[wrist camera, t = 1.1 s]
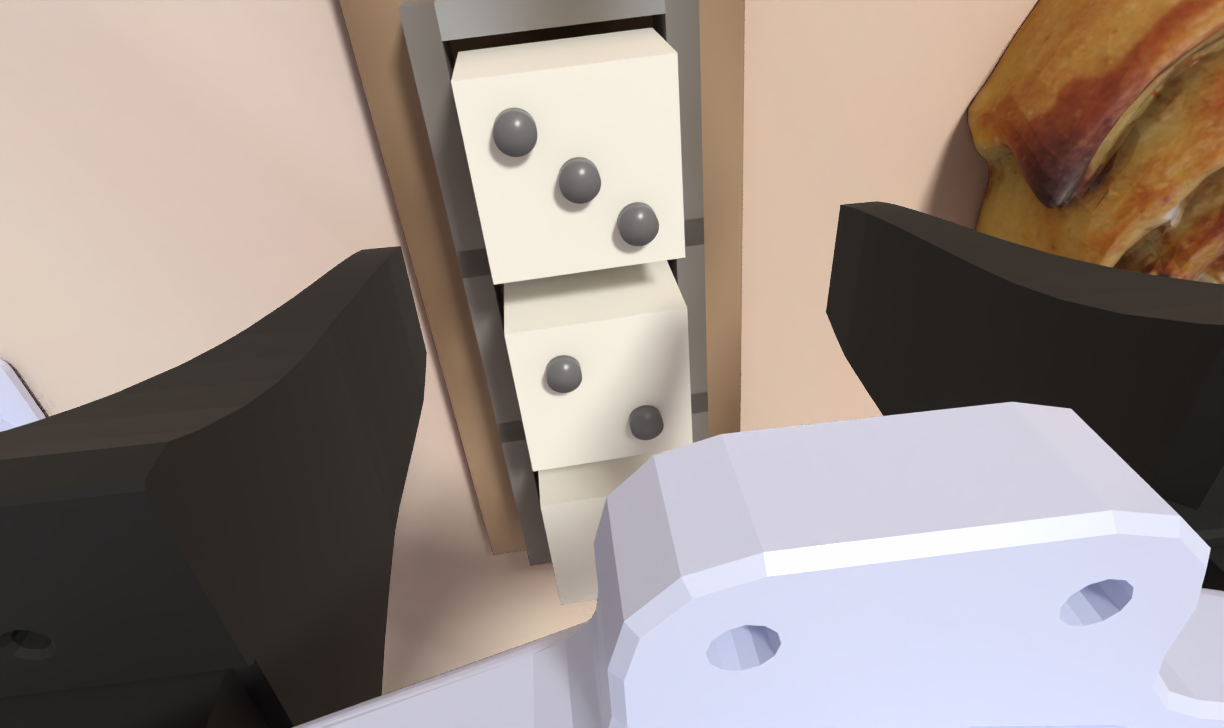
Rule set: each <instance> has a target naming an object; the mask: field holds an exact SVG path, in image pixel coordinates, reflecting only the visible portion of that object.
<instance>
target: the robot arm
mask: <svg viewBox="0 0 1224 728" xmlns="http://www.w3.org/2000/svg"><path fill="white" fill-rule="evenodd" d="M826 313H827V315H828V318H829V320H830V323H831V325H832V328H833V330H834V333H835V335H836V337H837V340H838V342H839V344H840V346H841V348H842V351H843V353H844V355H845V357H846V359H847V360H848V362H849V363H850V365H851V367H852V368H853V370H854V371H855V373H856V374H857V376H858V378H859V379H860V381H861V382H862V384H863V385H864V387H865V389H866V390H867V392H868V393H869V395H870V396H871V398H872V399H873V401H874V402H875V404H876V405H877V407H878V408H879V410H880V411H881V413H882V414H883V416H879V417H871V418H862V419H853V420H844V421H835V422H826V423H817V424H808V425H799V426H790V427H781V428H772V429H763V430H754V431H745V432H736V433H727V434H720V435H717V436H714V437H711V438H707V439H704V440H701V441H698V442H695V443H692V444H688V445H685V446H682V447H679V448H676V449H673V450H669V451H666V452H663V453H660V454H657V455H654V456H652V457H651V458H650V459H649V460H648V461H647V462H646V463H645V464H643V465H642V466H641V467H640V468H639V469H638V470H637V471H635V472H634V473H633V474H632V475H631V476H630V477H629V478H628V479H626V480H625V481H624V482H623V483H622V484H621V485H620V486H619V487H617V488H616V489H615V490H614V491H613V492H612V493H611V494H609V495H608V496H607V498H606V501H605V505H604V508H603V512H602V515H601V519H600V523H599V526H598V530H597V533H596V537H595V540H594V553H595V563H596V573H597V583H598V596H597V606H596V611H595V613H594V615H593V616H592V618H591V619H590V620H588V621H587V622H584V623H582V624H579V625H576V626H573V627H571V628H568V629H565V630H562V631H559V632H557V633H554V634H551V635H548V636H546V637H543V638H540V639H537V640H534V641H532V642H529V643H526V644H523V645H521V646H518V647H515V648H512V649H509V650H507V651H504V652H501V653H498V654H495V655H493V656H490V657H487V658H484V659H482V660H479V661H476V662H473V663H470V664H468V665H465V666H462V667H459V668H457V669H454V670H451V671H448V672H445V673H443V674H440V675H437V676H434V677H432V678H429V679H426V680H423V681H420V682H418V683H415V684H412V685H409V686H406V687H404V688H401V689H398V690H395V691H393V692H390V693H387V694H384V695H381V694H382V678H383V662H384V645H385V633H386V620H387V608H388V596H389V584H390V575H391V565H392V555H393V546H394V536H395V529H396V523H397V517H398V512H399V506H400V502H401V498H402V493H403V489H404V485H405V480H406V476H407V472H408V467H409V463H410V459H411V455H412V450H413V446H414V442H415V437H416V433H417V428H418V424H419V419H420V415H421V410H422V405H423V400H424V387H425V373H426V354H427V353H426V348H425V344H424V340H423V336H422V332H421V328H420V324H419V320H418V315H417V311H416V307H415V303H414V299H413V295H412V291H411V287H410V282H409V278H408V274H407V270H406V266H405V262H404V258H403V254H402V249H401V246H398V247H387V248H377V249H366V250H361V251H359V252H357V253H355V254H353V255H352V256H350V257H348V258H347V259H345V260H344V261H343V262H341V263H340V264H338V265H337V266H336V267H334V268H333V269H332V270H330V271H329V272H327V273H326V274H325V275H323V276H322V277H321V278H319V279H318V280H317V281H315V282H314V283H313V284H311V285H310V286H308V287H307V288H306V289H304V290H303V291H302V292H300V293H299V294H298V295H296V296H295V297H294V298H292V299H291V300H289V301H288V302H286V303H285V304H283V305H282V306H280V307H279V308H277V309H276V310H274V311H273V312H271V313H270V314H268V315H267V316H265V317H264V318H262V319H261V320H259V321H258V322H256V323H255V324H253V325H252V326H250V327H249V328H247V329H246V330H244V331H242V332H241V333H239V334H237V335H236V336H234V337H232V338H231V339H229V340H227V341H225V342H224V343H222V344H220V345H218V346H216V347H214V348H212V349H211V350H209V351H207V352H205V353H203V354H201V355H199V356H197V357H195V358H193V359H192V360H190V361H188V362H186V363H183V364H181V365H179V366H177V367H175V368H173V369H170V370H168V371H166V372H163V373H161V374H159V375H157V376H154V377H152V378H150V379H147V380H145V381H143V382H140V383H138V384H136V385H134V386H131V387H129V388H127V389H124V390H122V391H120V392H117V393H115V394H112V395H110V396H107V397H104V398H102V399H99V400H96V401H93V402H91V403H88V404H85V405H82V406H80V407H77V408H74V409H71V410H68V411H65V412H62V413H59V414H56V415H53V416H50V417H47V418H46V417H45V415H44V414H43V413H42V411H41V410H40V408H39V407H38V405H37V404H36V402H35V401H34V400H33V398H32V397H31V395H30V394H29V392H28V391H27V389H26V388H25V387H24V385H23V384H22V382H21V381H20V379H19V378H18V376H17V375H16V374H15V372H14V371H13V369H12V368H11V367H10V366H9V365H8V364H7V363H6V362H5V361H3V360H1V359H0V728H1224V284H1216V283H1207V282H1199V281H1192V280H1185V279H1178V278H1171V277H1164V276H1157V275H1150V274H1144V273H1139V272H1133V271H1127V270H1122V269H1117V268H1112V267H1107V266H1103V265H1098V264H1094V263H1089V262H1084V261H1080V260H1075V259H1071V258H1067V257H1063V256H1059V255H1055V254H1051V253H1047V252H1044V251H1040V250H1037V249H1033V248H1030V247H1026V246H1023V245H1019V244H1016V243H1013V242H1009V241H1006V240H1003V239H1000V238H997V237H993V236H990V235H987V234H984V233H981V232H978V231H975V230H972V229H969V228H966V227H963V226H960V225H957V224H954V223H951V222H949V221H946V220H943V219H940V218H937V217H934V216H931V215H928V214H925V213H922V212H919V211H915V210H912V209H909V208H905V207H902V206H898V205H894V204H890V203H884V202H866V203H855V204H845V205H840V213H839V220H838V228H837V235H836V242H835V250H834V257H833V265H832V272H831V279H830V287H829V294H828V301H827V309H826Z"/></svg>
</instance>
